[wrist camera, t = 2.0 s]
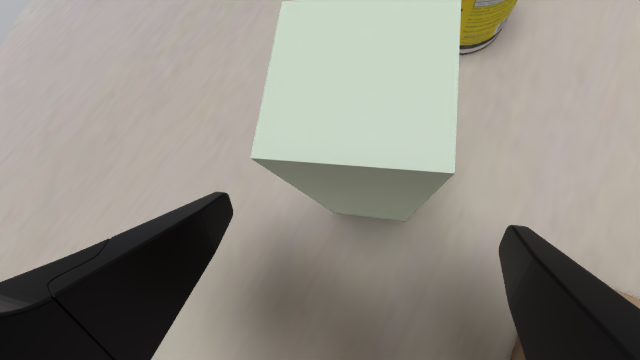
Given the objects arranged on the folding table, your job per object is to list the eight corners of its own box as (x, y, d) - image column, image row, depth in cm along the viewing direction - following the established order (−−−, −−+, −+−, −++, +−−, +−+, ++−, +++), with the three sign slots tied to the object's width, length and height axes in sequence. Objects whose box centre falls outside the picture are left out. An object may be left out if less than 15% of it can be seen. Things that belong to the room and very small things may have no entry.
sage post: (404, 221, 18) (454, 173, 6) (333, 212, 19) (250, 157, 7) (410, 152, 19) (461, -14, 7) (342, 148, 20) (281, 2, 8)
